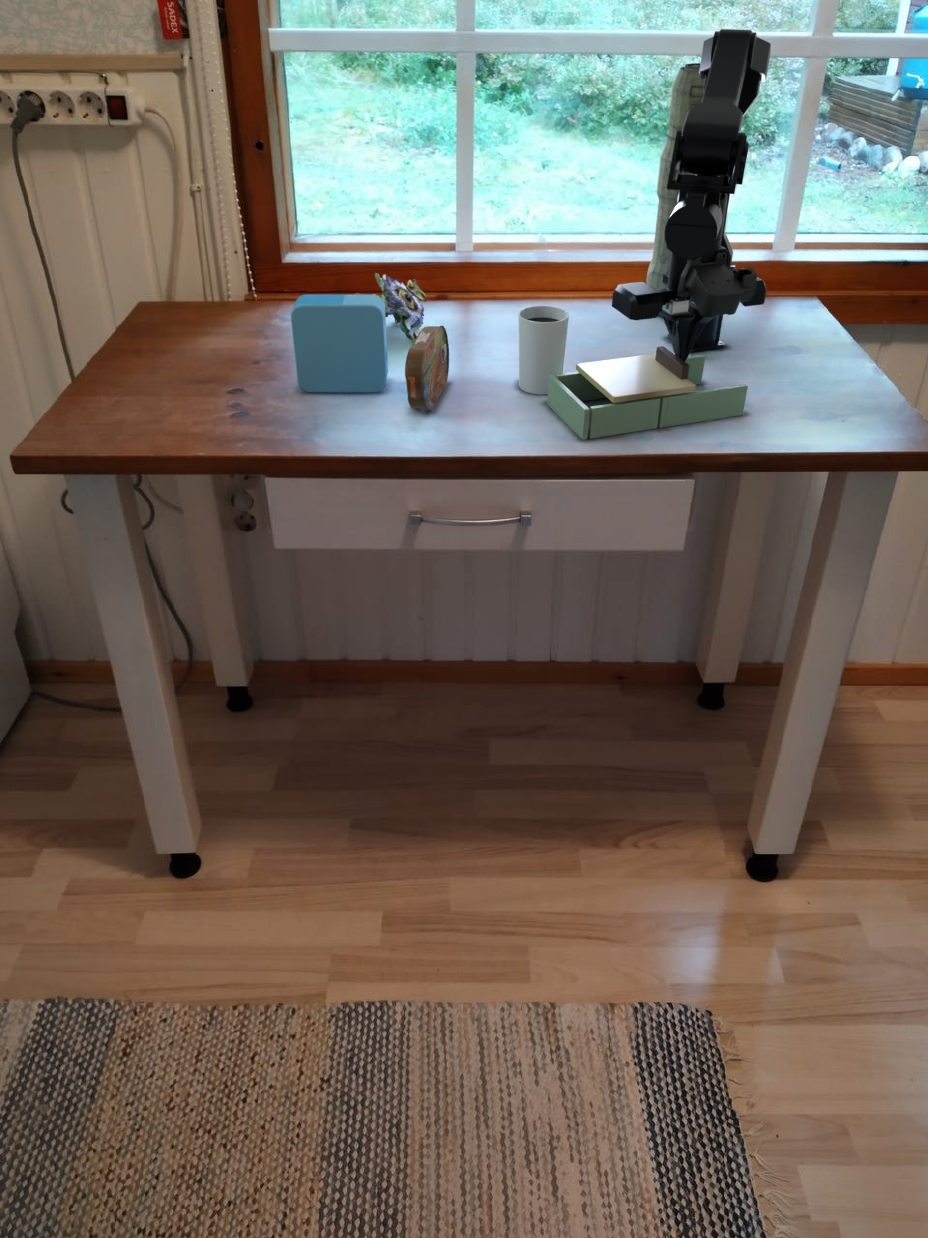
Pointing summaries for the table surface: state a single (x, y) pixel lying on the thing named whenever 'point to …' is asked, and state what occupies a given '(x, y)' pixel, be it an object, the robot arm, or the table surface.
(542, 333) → the white cup
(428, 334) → the tin
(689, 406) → the storage box
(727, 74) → the robot arm
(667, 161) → the thermos
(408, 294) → the passion flower
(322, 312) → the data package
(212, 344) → the table surface
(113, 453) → the table surface
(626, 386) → the sliding lid
